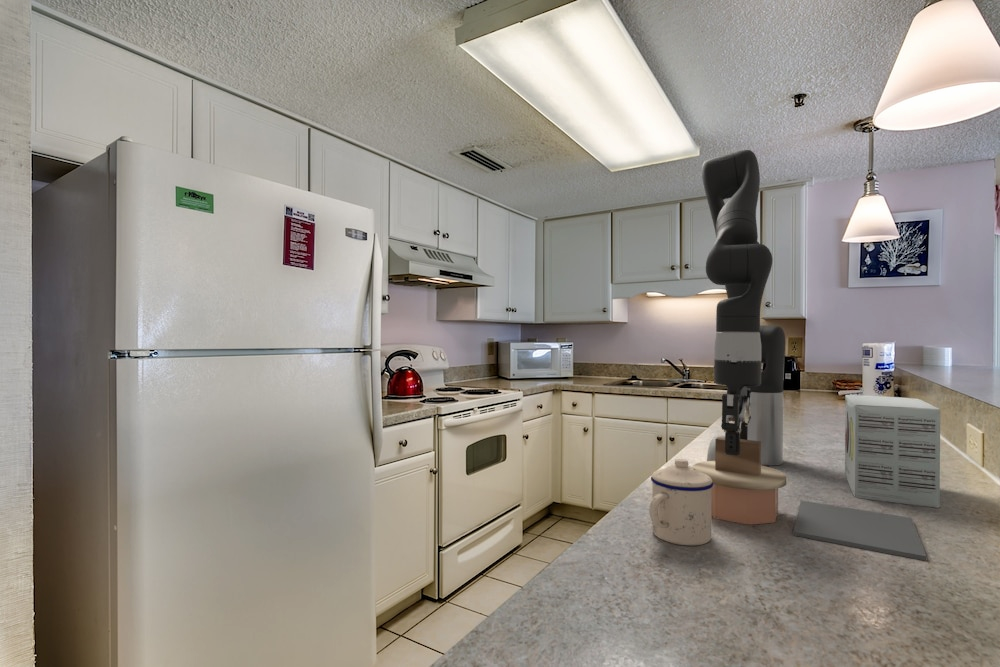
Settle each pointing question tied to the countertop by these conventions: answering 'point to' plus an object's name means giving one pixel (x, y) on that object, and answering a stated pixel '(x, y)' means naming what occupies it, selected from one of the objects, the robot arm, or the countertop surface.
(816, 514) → the mat
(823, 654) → the countertop surface
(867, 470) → the supplement box
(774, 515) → the bowl
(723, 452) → the lid
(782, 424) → the robot arm
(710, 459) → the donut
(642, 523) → the countertop surface
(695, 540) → the teacup with lid
